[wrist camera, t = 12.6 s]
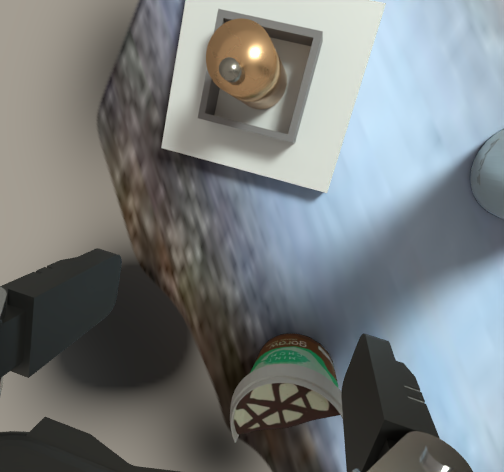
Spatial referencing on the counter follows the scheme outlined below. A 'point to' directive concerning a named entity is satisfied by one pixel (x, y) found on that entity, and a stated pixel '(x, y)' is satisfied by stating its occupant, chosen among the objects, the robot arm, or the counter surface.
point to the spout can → (246, 64)
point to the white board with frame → (296, 94)
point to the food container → (286, 387)
